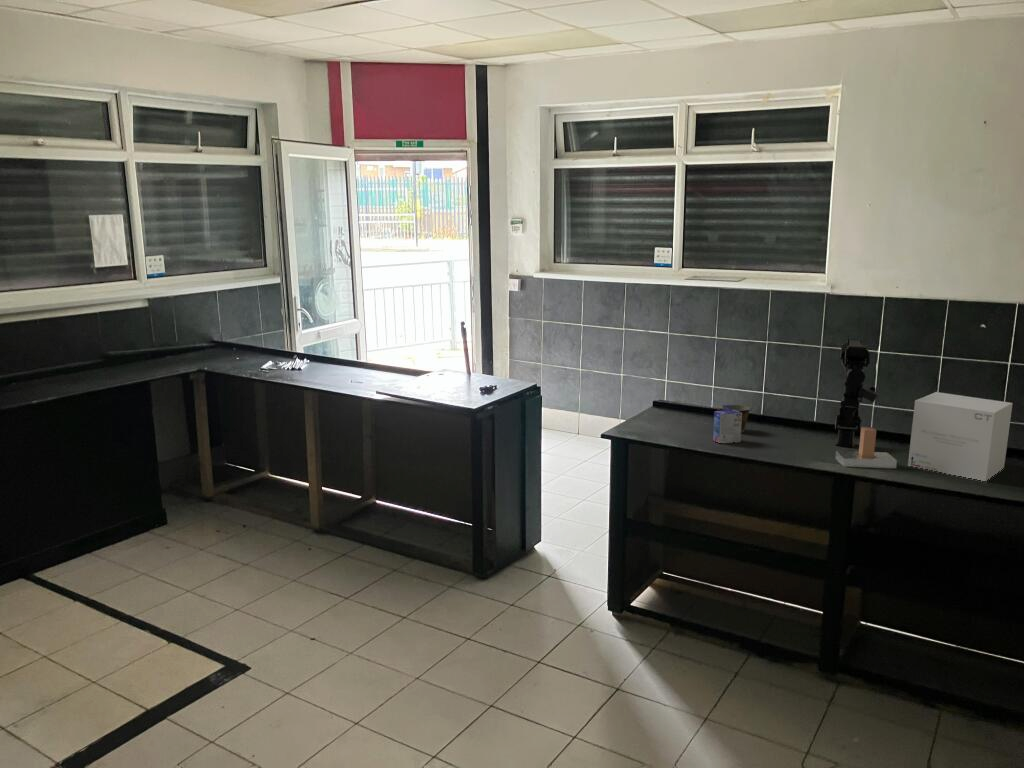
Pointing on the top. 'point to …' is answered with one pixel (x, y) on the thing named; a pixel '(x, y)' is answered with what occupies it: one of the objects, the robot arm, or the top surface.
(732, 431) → the ink cartridge box
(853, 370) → the robot arm
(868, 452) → the square peg
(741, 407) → the ceramic cup
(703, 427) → the top surface
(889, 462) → the grey flat block
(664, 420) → the top surface
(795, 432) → the top surface
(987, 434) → the white cardboard box
